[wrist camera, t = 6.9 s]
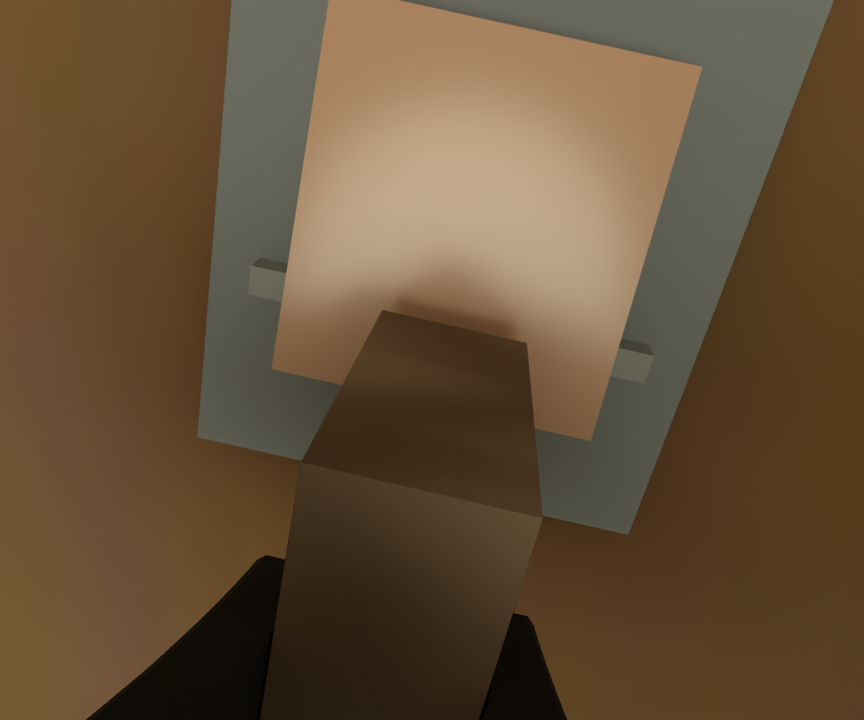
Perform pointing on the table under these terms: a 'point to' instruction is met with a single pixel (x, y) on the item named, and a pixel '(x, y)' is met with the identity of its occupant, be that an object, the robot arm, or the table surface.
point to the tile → (478, 193)
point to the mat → (662, 270)
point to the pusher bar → (408, 531)
